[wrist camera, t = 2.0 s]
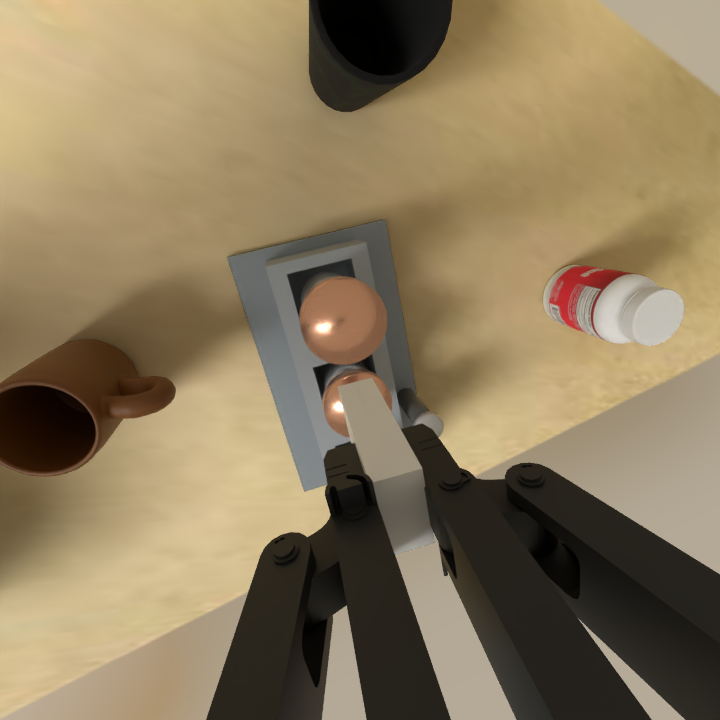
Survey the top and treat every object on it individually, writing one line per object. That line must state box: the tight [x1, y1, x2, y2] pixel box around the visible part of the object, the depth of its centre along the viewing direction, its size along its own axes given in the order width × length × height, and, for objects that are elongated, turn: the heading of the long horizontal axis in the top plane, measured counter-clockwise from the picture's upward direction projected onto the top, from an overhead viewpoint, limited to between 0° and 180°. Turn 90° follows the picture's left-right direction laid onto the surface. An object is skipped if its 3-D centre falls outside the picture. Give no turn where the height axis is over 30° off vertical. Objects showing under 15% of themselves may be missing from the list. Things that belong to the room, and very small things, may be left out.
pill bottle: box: [543, 265, 684, 346], centre depth 38 cm, size 6×6×11 cm
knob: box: [299, 271, 387, 365], centre depth 29 cm, size 5×5×8 cm
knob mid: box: [320, 361, 392, 437], centre depth 36 cm, size 5×5×8 cm
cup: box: [309, 0, 453, 112], centre depth 27 cm, size 8×8×12 cm
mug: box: [0, 340, 176, 476], centre depth 32 cm, size 12×8×9 cm, turn 97°
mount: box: [227, 220, 417, 492], centre depth 38 cm, size 14×25×5 cm, turn 12°
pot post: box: [397, 388, 443, 437], centre depth 39 cm, size 3×3×7 cm
